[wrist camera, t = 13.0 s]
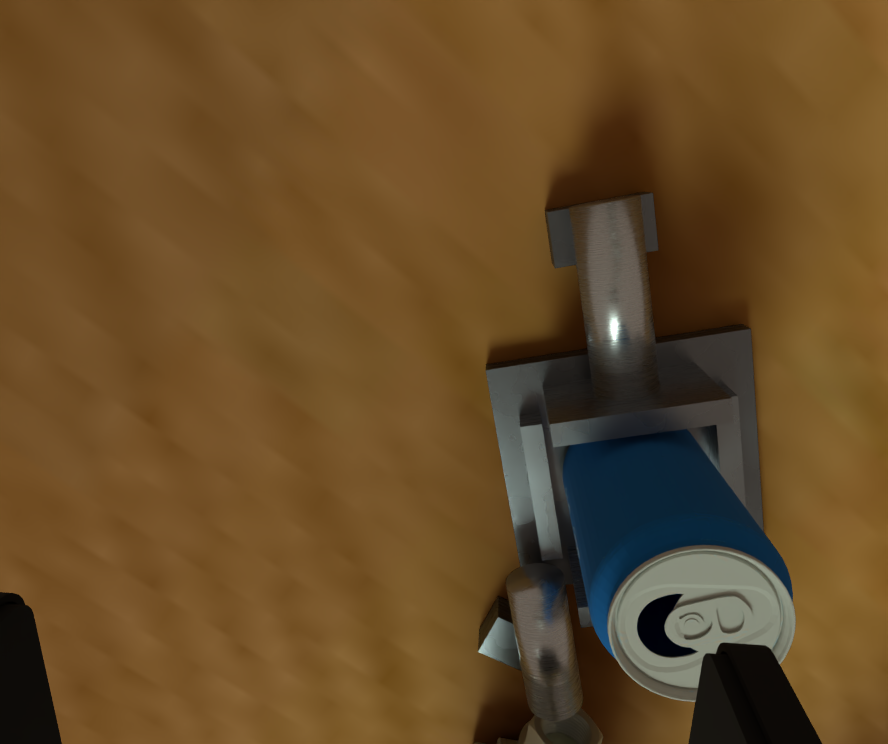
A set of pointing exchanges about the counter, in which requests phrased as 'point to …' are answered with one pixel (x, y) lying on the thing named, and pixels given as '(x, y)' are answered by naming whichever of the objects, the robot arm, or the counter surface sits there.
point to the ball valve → (558, 731)
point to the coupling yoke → (602, 429)
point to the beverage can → (671, 559)
